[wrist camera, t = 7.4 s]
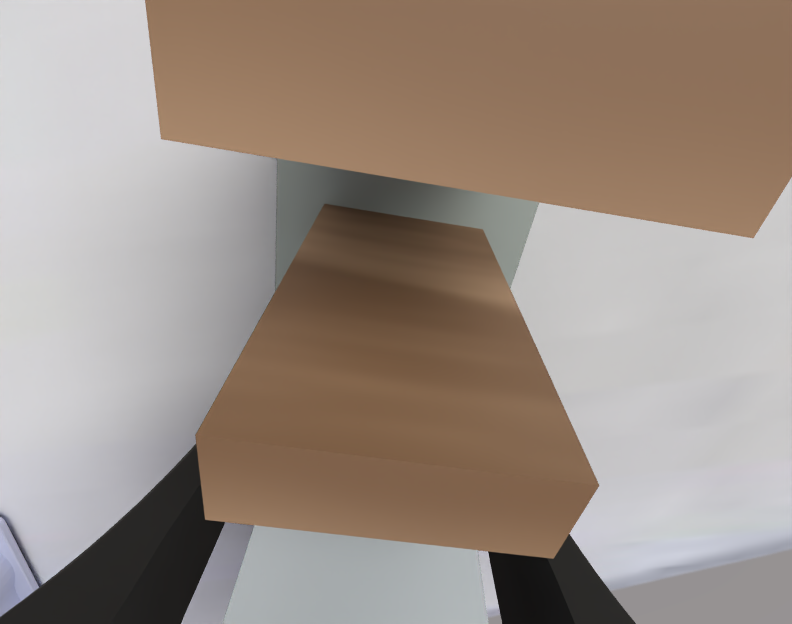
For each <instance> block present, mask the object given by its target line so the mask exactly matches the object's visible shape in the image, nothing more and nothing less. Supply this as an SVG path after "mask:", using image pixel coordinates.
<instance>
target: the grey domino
mask: <svg viewBox="0 0 792 624" xmlns="http://www.w3.org/2000/svg"><path fill="white" fill-rule="evenodd" d="M223 624H488V617H487V610H486V603H485V596H484V590H483V583H482V576H481V569H480V562H479V556H478V550H471V549H462V548H453V547H444V546H435V545H426V544H417V543H408V542H399V541H390V540H382V539H373V538H364V537H355V536H346V535H337V534H328V533H319V532H310V531H301V530H292V529H283V528H274V527H265V526H256V525H254V528H253V531H252V534H251V537H250V540H249V543H248V546H247V549H246V553H245V556H244V559H243V562H242V565H241V568H240V571H239V574H238V577H237V580H236V583H235V587H234V590H233V593H232V596H231V599H230V602H229V605H228V608H227V611H226V614H225V617H224V621H223Z"/></svg>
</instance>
